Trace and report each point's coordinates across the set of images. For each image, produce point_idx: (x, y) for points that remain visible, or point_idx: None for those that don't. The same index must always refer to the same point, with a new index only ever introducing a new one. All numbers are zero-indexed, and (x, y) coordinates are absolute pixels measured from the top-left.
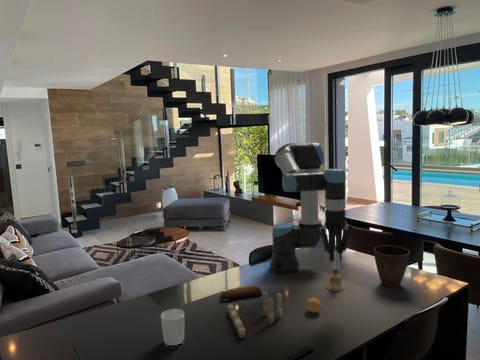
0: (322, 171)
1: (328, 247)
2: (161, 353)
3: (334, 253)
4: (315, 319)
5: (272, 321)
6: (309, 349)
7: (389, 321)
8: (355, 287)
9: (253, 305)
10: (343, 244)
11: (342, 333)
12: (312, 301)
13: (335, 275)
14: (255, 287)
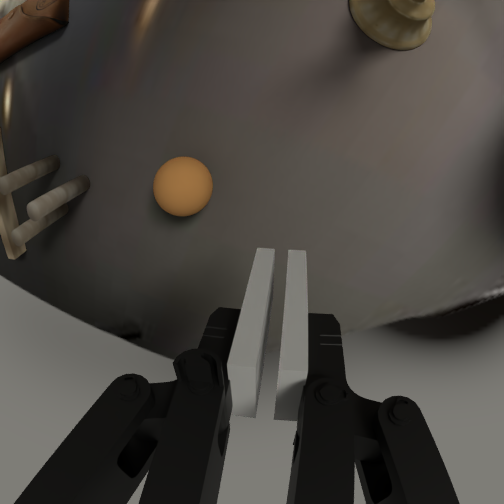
0: None
1: (133, 467)
2: None
3: (234, 411)
4: (180, 228)
5: (61, 216)
6: (133, 331)
7: (391, 311)
8: (467, 58)
9: (36, 93)
10: (418, 460)
11: None
12: (165, 208)
13: (410, 1)
14: (36, 19)
